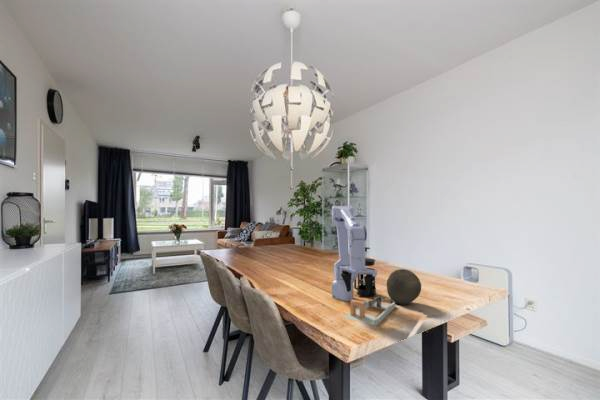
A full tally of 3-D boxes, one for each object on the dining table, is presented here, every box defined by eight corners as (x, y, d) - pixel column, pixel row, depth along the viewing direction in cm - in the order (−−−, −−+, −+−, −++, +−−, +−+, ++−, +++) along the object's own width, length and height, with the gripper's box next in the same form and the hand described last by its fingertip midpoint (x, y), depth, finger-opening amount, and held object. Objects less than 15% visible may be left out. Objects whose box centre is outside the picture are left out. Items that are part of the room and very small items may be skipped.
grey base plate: (343, 320, 103) (343, 312, 103) (365, 303, 120) (365, 296, 121) (376, 329, 95) (376, 320, 95) (395, 309, 113) (395, 302, 113)
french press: (370, 290, 139) (370, 245, 140) (381, 295, 130) (380, 248, 131) (350, 292, 136) (349, 246, 136) (359, 298, 127) (359, 249, 127)
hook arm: (368, 317, 105) (367, 301, 105) (377, 308, 114) (377, 293, 114) (371, 318, 104) (371, 302, 104) (381, 309, 113) (381, 294, 113)
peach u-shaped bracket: (350, 315, 105) (350, 301, 105) (353, 313, 106) (352, 299, 107) (362, 318, 102) (362, 303, 102) (365, 316, 104) (364, 302, 104)
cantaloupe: (390, 309, 114) (389, 273, 114) (384, 297, 127) (384, 266, 128) (425, 310, 112) (424, 274, 112) (415, 299, 126) (415, 266, 126)
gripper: (335, 257, 106) (336, 292, 105) (371, 260, 97) (372, 298, 97) (343, 254, 111) (344, 287, 111) (378, 257, 103) (379, 293, 103)
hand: (358, 292), depth 104 cm, fingers open, 7 cm apart
